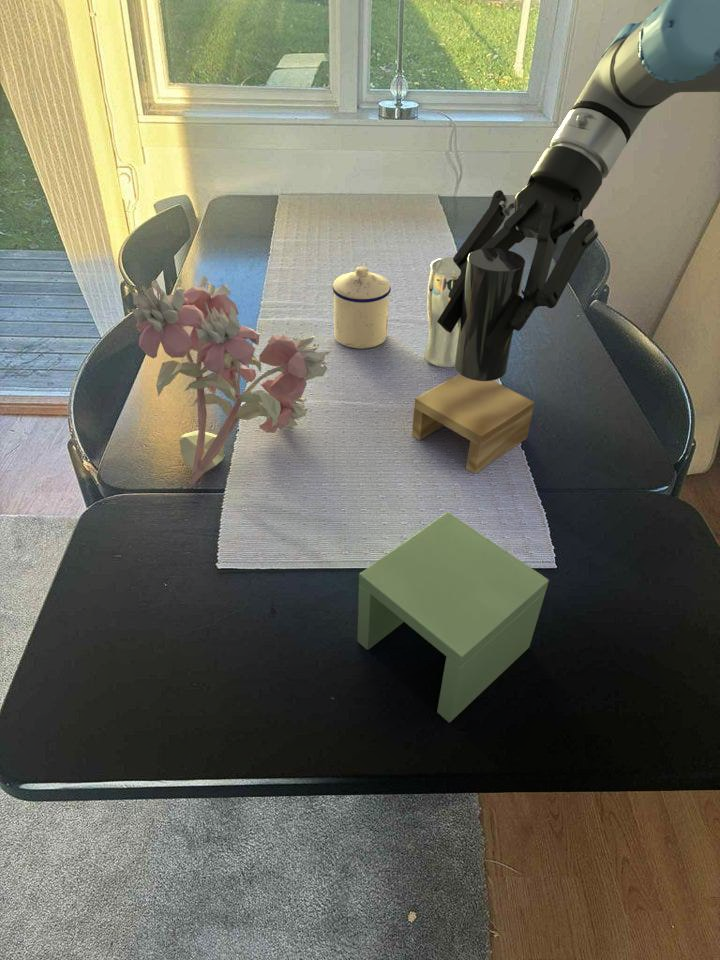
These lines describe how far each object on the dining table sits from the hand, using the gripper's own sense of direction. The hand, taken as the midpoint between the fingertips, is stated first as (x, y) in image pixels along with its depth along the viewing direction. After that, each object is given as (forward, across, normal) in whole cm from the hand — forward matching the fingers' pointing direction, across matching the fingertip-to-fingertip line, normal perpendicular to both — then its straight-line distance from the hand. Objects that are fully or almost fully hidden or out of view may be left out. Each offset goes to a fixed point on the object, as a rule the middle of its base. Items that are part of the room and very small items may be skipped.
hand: (467, 338), depth 82 cm
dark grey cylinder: (+1, 0, +6) cm, 7 cm away
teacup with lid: (+3, -31, +20) cm, 37 cm away
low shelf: (+9, 0, +14) cm, 17 cm away
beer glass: (0, -16, +23) cm, 28 cm away
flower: (+25, -20, -1) cm, 32 cm away
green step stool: (+29, +20, -6) cm, 36 cm away
